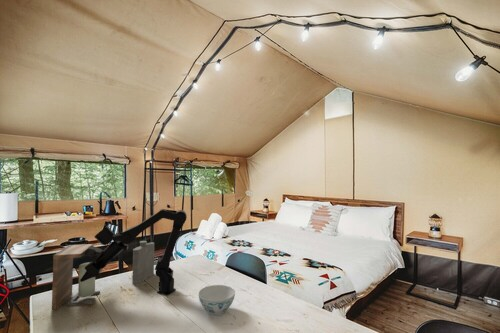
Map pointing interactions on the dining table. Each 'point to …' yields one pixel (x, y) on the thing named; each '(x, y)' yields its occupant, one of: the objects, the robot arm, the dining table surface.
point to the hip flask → (143, 262)
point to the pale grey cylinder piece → (85, 283)
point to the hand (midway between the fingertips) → (83, 278)
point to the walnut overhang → (66, 275)
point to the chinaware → (216, 298)
